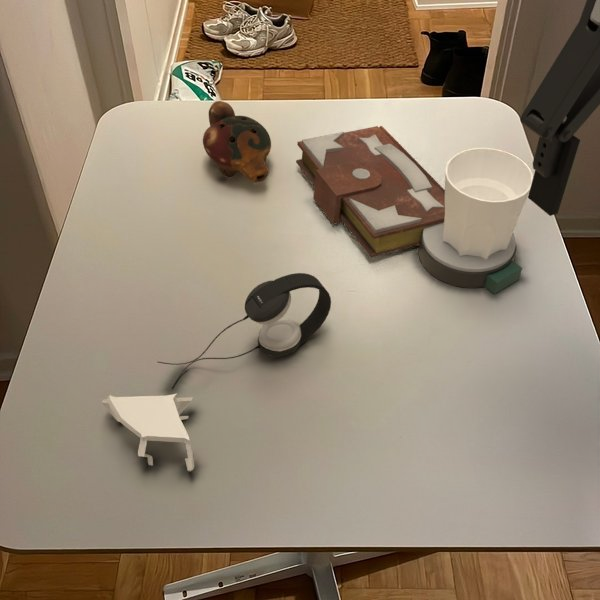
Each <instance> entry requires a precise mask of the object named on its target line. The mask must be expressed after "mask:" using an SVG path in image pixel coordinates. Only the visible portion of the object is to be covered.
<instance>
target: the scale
mask: <svg viewBox="0 0 600 600" xmlns="http://www.w3.org/2000/svg"><path fill="white" fill-rule="evenodd" d="M443 229H444V222H442V223H438V224H435V225H432V226H429V227H426V228H424V229H423V232H422V233H421V238H420V245H418V246H419V248H418V256H419V257H418V258H419V260H420V262H421V265H422V266H423V268H424V269H425V270H426V271H427V272H428V274H430V275H431V276H433V277H434V278H436V279H437V280H439V281H441V282H443V283H445V284H448V285H451V286H454V287H458V288H459V287H460V288H465V289H479V288H486V289H487V290H488V291H489V292H490V293H492V294H493V295H496V294H497V293H500V292H501V291H503V290H504V289H506V288H507V287H509V286H511V285H512V284H514V283H516V282H517V281H519V280H520V278H521V274H522V271H523V267H522V266H520V265H519V264H517V263H516V262H515V261H514V260H515V258H516V257H515V256H516V253H517V240H516V236H515V234H514V233H513V234H512V236H511V239H510V242H509V244H508V247H507V249H506V250H499V251H497V252H495V253H493V254H491V255H490V256H489V257H488V259H487V260H486V259H484V258H482V257H478V256H471V255H463V256H460V255H459V253H458V251H457V250H456V249H455V248H454V247H453V246H451V245H450V244H449V243H447V242H444V241H442V240H443Z"/></svg>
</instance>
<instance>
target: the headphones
mask: <svg viewBox="0 0 600 600" xmlns="http://www.w3.org/2000/svg"><path fill="white" fill-rule="evenodd" d="M305 288H311V289H316V290H318V297H317V302H316V304H315V306H314V307H313V309H312V311H311V312H310V314H309V315H308V316H307V317H306V318H305V320H303V322H302V323H300V324H299V323H298V322H297V321H295V320H293V319H290V318H283V317H284V316H286V314H287V312H288V311H289V309H290V306H291V304H292V295H291V292H292V291H296V290H299V289H305ZM331 305H332V299H331V295H330V292H329V291H328V290H327V288H325V286H324V285H323V284H322V283H321V281H320V280H319V279H318V278H317V277H316V276H314V275H312V274H311V273H310V274H309V273H304V272H296V273H290V274H287V275H282V276H280V277H278V278H276V279H274V280H267V281H264V282H262V283H259V284H258V285H256V286H255V287H254V288H253V289H252V290H251V291H250V292H249V294H248V295H247V297H246V299H245V302H244V310H245V314H246V316H245V315H244V317H243V318H241V319H239V320H237V321H235V322H233V323H231V324H230V325H228V326H227V327H225V328H224V329H223V330H221V331H220V332H219V333H218V334H217V335H216V336H215V337H214V338H213V340H212V341H211V342H210V343H209V345H208V346H207V347H206V348H205V350H204V351H202V353H201V354H200V355H199V356H198V357H196V358H195V359H193V360H191V361H188V362H181V363H170V362H163V361H157V363H159V364H162V365H163V364H164V365H170V366H171V365H172V366H175V365H176V366H178V365H179V366H180V365H187V366H186V367H184V369H183V370H182V371H181V373H180V374H179V375H178V377H177V378H176V379H175V382H174V383H173V385H172V386H171V388H172V389H173V388H174V387H175V385H176V383H177V382H178V380H179V378H180V377H181V376H182V375H183V373H184V372H185V371H186V369H187V368H189V367H190V366H191V365H192V364H193V363H195V362H198V361H202V360H229V359H235V358H239V357H242V356H245V355H247V354H250V353H251V352H253V351H255V350H258V349H259V350H260V351H261V352H262V353H263V354H265V355H267V356H269V357H274V358H275V357H276V358H277V357H279V358H281V357H285V356H288V355H290V354H292V353H294V352H296V351H297V350H298V348H299V347H300V345H302V344H303V343H304V342H306V341H307V340H309V339H310V338H311V337H312V336H313V335H315V334H316V333H317V331H319V329H320V328H321V327H322V325H324V323H325V321H326V320H327V318H328V316H329V314H330V311H331V307H332V306H331ZM247 319H250V320H251V321H252V322H255V323H257V324H259V325H261V327H260V329H259V332H258V336H257V346H255V347H254V348H252V349H250V350H248V351H246V352H244V353H241V354H238V355H234V356H230V357H229V356H228V357H202V356H203V355H204V354H206V351H208V349H210V347H211V346H212V345H213V343H214V342H215V341H216V340H217V338H219V337H220V335H221V334H223V333H224V332H225V331H227V330H228V329H229V328H231V327H233V326H234V325H237V324H238V323H240V322H244V321H246V320H247Z"/></svg>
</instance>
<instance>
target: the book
mask: <svg viewBox="0 0 600 600" xmlns="http://www.w3.org/2000/svg"><path fill="white" fill-rule="evenodd" d="M297 146H298V148H299V149H300V150H301V152H302V153H301V158H300V159H299V158H298V159H296V160H295V163H296V164H297V166H298V167H299V168H300V170H302V172H303V173H304V174H305V176H306V177H307V178H308V180H309V181H310V183H312V185H313V198H312V199H313V201H315V203H316V204H317V206H318V207H319V208H320V210H321V211H322V212H323V214H325V215H324V216H326V217H327V219H328V220H329V221H330V222H331V224H332V225H338V224H341V223H343V224H344V225H345V227H346V228H347V230H349V232H350V233H351V234H352V236H353V238H355V240H356V241H357V242H358V244H359V245H360V246H361V248H363V250H364V251H365V252H366V254H367V255H368V257H369V258H375V257H377V256H381V255H387V254H389V253H393V252H394V253H395V252H397V251H401V250H405V249H409V248H412V247H416V246H420V238H421V233H422V232H423V229H424V228H426V227H429V226H432V225H435V224H438V223H442V222H444V218H445V188H444V187H443V186H441V184H440V183H439V182H438V181H437V180H435V178H434V177H433V176H431V174H430V173H429V172H428V171H427V170H426V169H425V168H424V167H423V166H422V165H421V164H420V163H419V162H418V161H417V160H416V159H415V158H414V157H413V156H412V155H411V154H410V153H409V152H408V150H406V149H405V147H404V146H403V145H401V144H400V143H399V142H398V141H397V139H396V138H395V137H394V136H393V135H391V134H390V133H389V131H387V129H386V128H385V127H383V125H380V126H378V125H376V126H371V127H366V128H360V129H355V130H351V131H345V132H344V131H341V132H336V133H329V134H326V135H321V136H316V137H310V138H306V139H302V140H299V141H297Z"/></svg>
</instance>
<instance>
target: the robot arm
mask: <svg viewBox="0 0 600 600" xmlns="http://www.w3.org/2000/svg"><path fill="white" fill-rule="evenodd" d="M599 106H600V0H586V1H585V4H584V7H583V9H582V12H581V15H580V18H579V21H578V23H577V24H576V26H575V28H574V29H573V31H572V32H571V34H570V35H569V37H568V39H567V41H566V42H565V43H564V45H563V47H562V49H561V51H560V52H559V54H558V55H557V57H556V58H555V60H554V62H553V63H552V65H551V66H550V68H549V70H548V71H547V73H546V74H545V76H544V78H543V80H542V81H541V82H540V85H539V86H538V88H537V89H536V91H535V92H534V94H533V96H532V98H531V99H530V101H529V102H528V104H527V105H526V108H525V109H524V110H523V112H522V113H521V116H520V123H521V124H522V125H524V126H525V127H526V128H527V129H529V130H530V131H532V132H533V133H535V135H537V136H539V138H538V142H537V145H536V149H535V152H534V157H533V159H532V169H533V170H534V173H533V180H532V184H531V188H530V191H529V194H528V196H527V199H528V200H530V201H531V202H532V203H533V204H534V205H536V206H537V207H538V208H539V209H541V210H542V212H544V213H545V214H547V215H548V216H549V217H551V216H554V215H558V214H559V210H560V207H561V204H562V202H563V201H562V200H563V197H564V194H565V191H566V187H567V185H568V181H569V178H570V174H571V171H572V168H573V165H574V161H575V159H576V155H577V152H578V149H579V146H580V142H581V139H580V138H578V137H577V136H576V135H575V134H576V133H577V132H578V130H580V128H581V127H582V126H583V124H584V123H586V121H587V120H588V119H589V118H590V117H591V116H592V115H593V113H594V112H595V111H596V110H597V109H598V107H599ZM565 118H566V119H565Z"/></svg>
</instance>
